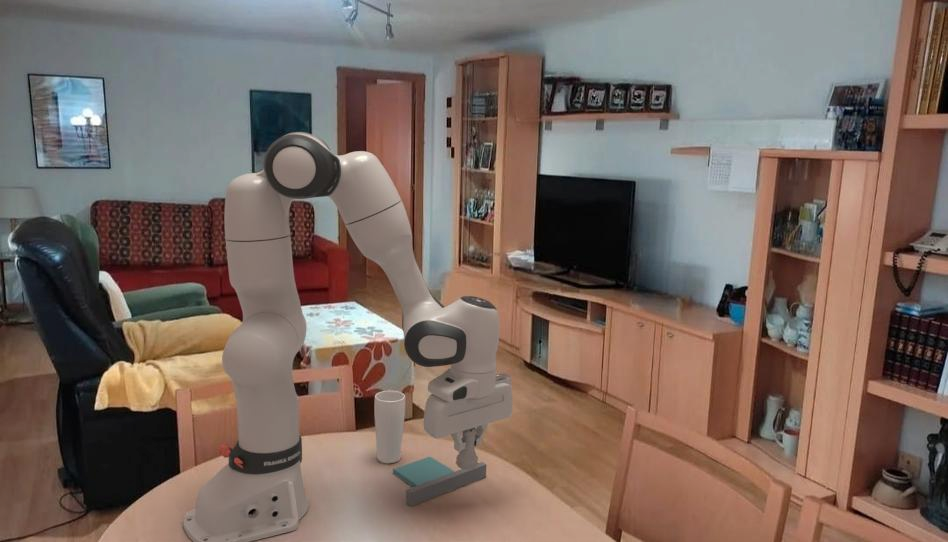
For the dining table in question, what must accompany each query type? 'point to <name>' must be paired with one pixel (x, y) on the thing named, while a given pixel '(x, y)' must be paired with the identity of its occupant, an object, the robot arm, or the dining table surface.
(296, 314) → the robot arm
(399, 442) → the drinking glass
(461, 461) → the rook chess piece
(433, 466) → the coaster
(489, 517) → the dining table surface
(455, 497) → the dining table surface
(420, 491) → the low wall
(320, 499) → the dining table surface
